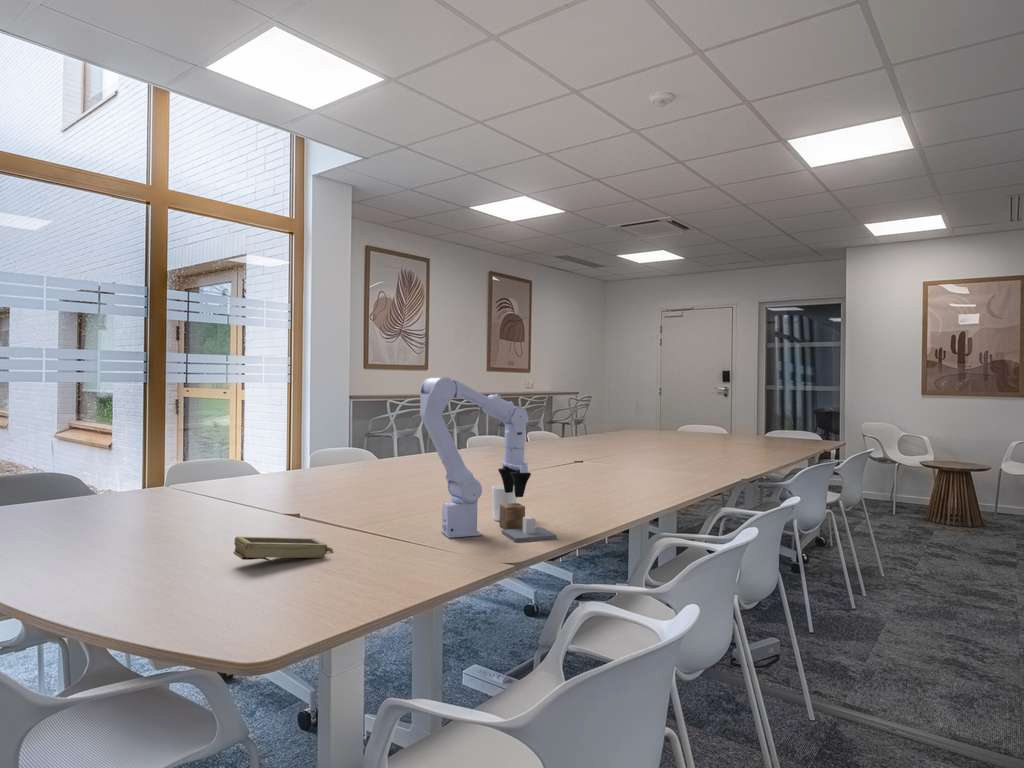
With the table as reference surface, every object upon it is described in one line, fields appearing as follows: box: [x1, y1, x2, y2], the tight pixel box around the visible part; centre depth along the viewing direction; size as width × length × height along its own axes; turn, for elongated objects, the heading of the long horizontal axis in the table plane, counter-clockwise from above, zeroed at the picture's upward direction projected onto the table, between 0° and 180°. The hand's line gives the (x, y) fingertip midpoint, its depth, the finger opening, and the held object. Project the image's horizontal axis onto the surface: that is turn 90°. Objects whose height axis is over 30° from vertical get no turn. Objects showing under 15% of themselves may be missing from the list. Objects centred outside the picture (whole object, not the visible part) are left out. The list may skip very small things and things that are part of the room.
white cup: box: [491, 484, 518, 522], centre depth 190 cm, size 8×8×10 cm
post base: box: [501, 516, 558, 543], centre depth 169 cm, size 12×10×5 cm
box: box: [233, 536, 334, 563], centre depth 143 cm, size 8×22×5 cm, turn 132°
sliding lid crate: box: [499, 502, 526, 530], centre depth 178 cm, size 6×6×7 cm
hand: (513, 494), depth 178 cm, fingers open, 7 cm apart
